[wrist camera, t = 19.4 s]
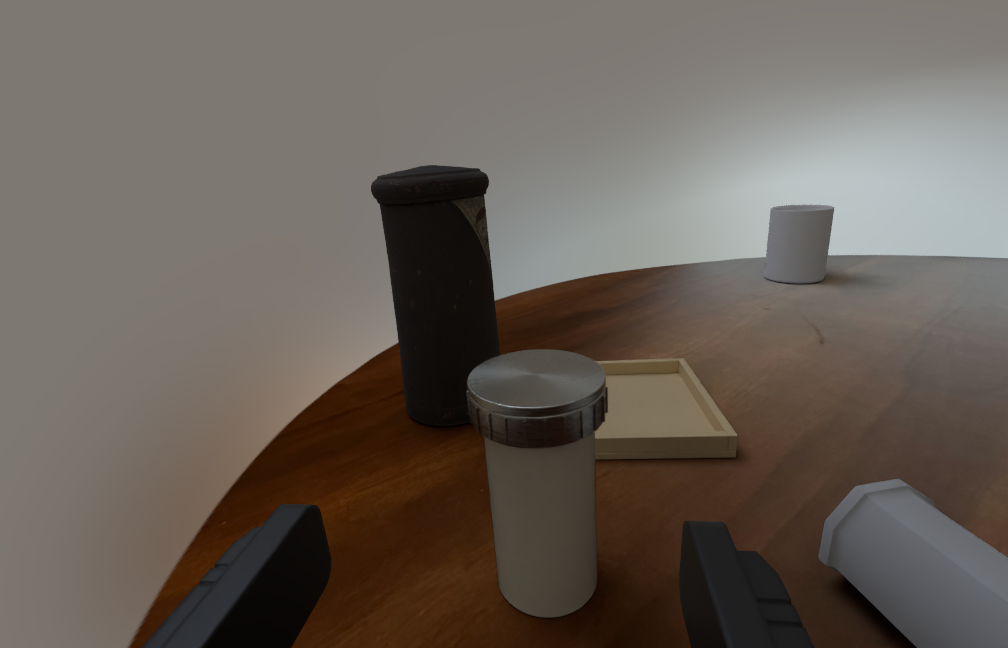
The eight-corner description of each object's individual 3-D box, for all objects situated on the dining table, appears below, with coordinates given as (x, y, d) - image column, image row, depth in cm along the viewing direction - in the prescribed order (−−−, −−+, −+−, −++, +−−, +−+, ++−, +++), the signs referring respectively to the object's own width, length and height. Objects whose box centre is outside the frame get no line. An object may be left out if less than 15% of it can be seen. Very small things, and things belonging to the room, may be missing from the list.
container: (525, 406, 41) (509, 159, 35) (429, 443, 37) (391, 167, 30) (475, 374, 48) (454, 164, 42) (389, 402, 44) (351, 171, 37)
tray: (538, 460, 33) (537, 439, 33) (540, 379, 46) (539, 362, 45) (736, 457, 32) (738, 435, 32) (683, 374, 45) (683, 357, 44)
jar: (492, 617, 22) (470, 414, 19) (502, 537, 27) (486, 364, 24) (602, 619, 22) (600, 411, 18) (592, 537, 26) (589, 360, 23)
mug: (832, 284, 69) (843, 209, 66) (771, 284, 71) (778, 211, 68) (805, 266, 80) (813, 201, 77) (753, 266, 82) (759, 203, 79)
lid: (458, 451, 19) (453, 410, 18) (479, 383, 25) (476, 350, 24) (616, 449, 18) (616, 406, 18) (599, 380, 24) (599, 346, 23)
